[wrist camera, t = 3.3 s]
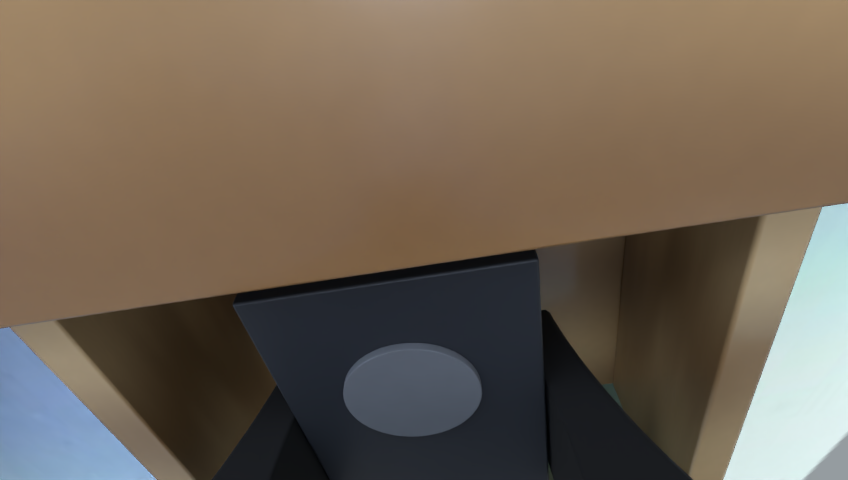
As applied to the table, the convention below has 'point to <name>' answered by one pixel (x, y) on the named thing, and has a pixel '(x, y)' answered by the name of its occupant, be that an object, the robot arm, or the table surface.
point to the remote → (413, 368)
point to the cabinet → (390, 135)
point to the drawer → (560, 295)
